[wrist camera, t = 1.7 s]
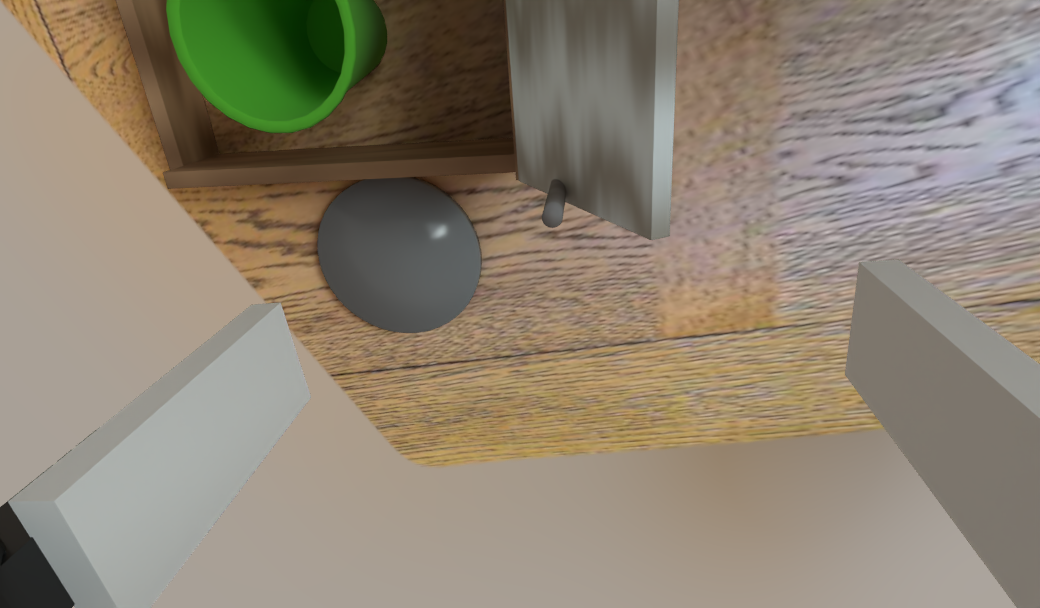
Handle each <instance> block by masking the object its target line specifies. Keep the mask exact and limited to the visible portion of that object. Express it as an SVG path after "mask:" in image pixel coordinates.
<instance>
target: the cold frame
mask: <svg viewBox="0 0 1040 608" xmlns="http://www.w3.org/2000/svg"><path fill="white" fill-rule="evenodd" d="M116 3H117V6H118V9H119V12H120V15H121V18H122V21H123V24H124V28H125V31H126V34H127V37H128V40H129V43H130V46H131V49H132V52H133V56H134V59H135V62H136V65H137V68H138V71H139V74H140V77H141V80H142V84H143V87H144V90H145V93H146V96H147V99H148V102H149V105H150V108H151V112H152V115H153V118H154V121H155V124H156V127H157V130H158V133H159V136H160V140H161V143H162V146H163V149H164V152H165V155H166V158H167V161H168V164H169V168H170V170H169V171H166V172H163V175H164V178H165V181H166V184H167V187H168V189H171V188H192V187H213V186H235V185H256V184H277V183H298V182H319V181H340V180H361V179H382V178H403V177H424V176H446V175H467V174H488V173H509V172H516V180H519V181H520V182H522V183H525V184H527V185H529V186H531V187H534V188H536V189H538V190H540V191H543V192H545V193H547V194H548V195H547V199H546V203H545V207H544V211H543V214H542V221H543V223H544V224H545V225H546V226H548V227H551V228H554V227H557V226H559V225H560V224H561V222H562V218H563V212H564V205H565V202H567V203H569V204H571V205H574V206H576V207H578V208H580V209H583V210H585V211H587V212H589V213H592V214H594V215H596V216H598V217H600V218H603V219H605V220H607V221H609V222H612V223H614V224H616V225H618V226H621V227H623V228H625V229H627V230H629V231H632V232H634V233H636V234H638V235H641V236H643V237H645V238H647V239H649V240H655V239H659V238H663V237H668V236H670V211H671V185H672V160H673V134H674V108H675V82H676V57H677V31H678V5H679V0H503V6H504V19H505V33H506V46H507V60H508V74H509V87H510V101H511V114H512V128H513V138H496V139H478V140H460V141H442V142H424V143H406V144H387V145H369V146H351V147H333V148H315V149H297V150H279V151H261V152H242V153H224V154H219V151H218V148H217V144H216V141H215V137H214V134H213V130H212V127H211V123H210V120H209V116H208V113H207V109H206V106H205V102H204V98H203V95H202V93H201V92H200V91H199V90H198V89H197V88H196V86H195V85H194V84H193V83H192V82H191V80H190V78H189V77H188V75H187V73H186V71H185V70H184V68H183V66H182V64H181V63H180V61H179V59H178V56H177V53H176V51H175V48H174V45H173V42H172V39H171V36H170V32H169V25H168V18H167V11H166V6H167V0H116Z"/></svg>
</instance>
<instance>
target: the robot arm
mask: <svg viewBox="0 0 1040 608" xmlns="http://www.w3.org/2000/svg"><path fill="white" fill-rule="evenodd" d="M845 375H846V377H847V378H848V379H849V381H850V382H851V383H852V385H853V386H854V388H855V389H856V390H857V392H858V393H859V394H860V396H861V397H862V398H863V400H864V401H865V402H866V404H867V405H868V406H869V408H870V409H871V411H872V412H873V413H874V415H875V416H876V417H877V419H878V420H879V421H880V423H881V424H882V425H883V427H884V428H885V430H886V431H887V432H888V433H889V435H890V436H891V438H892V439H893V440H894V442H895V443H896V444H897V446H898V447H899V449H900V450H901V451H902V452H903V454H904V455H905V457H906V458H907V459H908V461H909V462H910V463H911V465H912V466H913V467H914V469H915V470H916V472H917V473H918V474H919V476H920V477H921V478H922V479H923V481H924V482H925V484H926V485H927V486H928V488H929V489H930V491H931V492H932V493H933V494H934V496H935V497H936V499H937V500H938V501H939V503H940V504H941V505H942V507H943V508H944V509H945V511H946V512H947V513H948V515H949V516H950V518H951V519H952V520H953V522H954V523H955V524H956V526H957V527H958V528H959V530H960V531H961V533H962V534H963V535H964V537H965V538H966V539H967V541H968V542H969V543H970V545H971V546H972V547H973V549H974V550H975V551H976V553H977V554H978V556H979V557H980V558H981V560H982V561H983V562H984V564H985V565H986V566H987V568H988V569H989V570H990V572H991V573H992V575H993V576H994V577H995V579H996V580H997V581H998V583H999V584H1000V585H1001V586H1002V588H1003V589H1004V591H1005V592H1006V593H1007V595H1008V596H1009V598H1010V599H1011V600H1012V602H1013V603H1014V604H1015V606H1016V607H1017V608H1040V364H1039V363H1037V362H1036V361H1035V360H1033V359H1032V358H1030V357H1029V356H1028V355H1026V354H1025V353H1024V352H1022V351H1021V350H1020V349H1018V348H1017V347H1016V346H1014V345H1013V344H1012V343H1010V342H1009V341H1008V340H1006V339H1005V338H1004V337H1002V336H1001V335H1000V334H998V333H997V332H996V331H994V330H993V329H992V328H990V327H989V326H987V325H986V324H985V323H983V322H982V321H981V320H979V319H978V318H977V317H975V316H974V315H973V314H971V313H970V312H969V311H967V310H966V309H965V308H963V307H962V306H961V305H959V304H958V303H957V302H955V301H954V300H953V299H951V298H950V297H949V296H947V295H946V294H944V293H943V292H942V291H940V290H939V289H938V288H936V287H935V286H934V285H932V284H931V283H930V282H928V281H927V280H926V279H924V278H923V277H922V276H920V275H919V274H918V273H916V272H915V271H914V270H912V269H911V268H910V267H908V266H907V265H906V264H904V263H903V262H901V261H900V260H885V261H870V262H859V268H858V275H857V283H856V291H855V299H854V307H853V315H852V323H851V331H850V338H849V346H848V354H847V362H846V370H845ZM310 398H311V396H310V393H309V390H308V386H307V384H306V380H305V378H304V374H303V371H302V368H301V365H300V362H299V359H298V355H297V352H296V349H295V346H294V343H293V340H292V337H291V334H290V330H289V327H288V324H287V321H286V318H285V315H284V312H283V309H282V306H281V303H268V304H255V305H251V306H250V307H248V308H247V309H246V310H245V311H243V312H242V313H241V314H240V315H238V316H237V317H236V318H235V319H233V320H232V321H231V322H230V323H229V324H227V325H226V326H225V327H223V328H222V329H221V330H220V331H219V332H217V333H216V334H215V335H214V336H212V337H211V338H210V339H209V340H207V341H206V342H205V343H204V344H203V345H201V346H200V347H199V348H197V349H196V350H195V351H194V352H193V353H191V354H190V355H189V356H188V357H186V358H185V359H184V360H183V361H181V362H180V363H179V364H178V365H176V366H175V367H174V368H173V369H171V370H170V371H169V372H168V373H167V374H165V375H164V376H163V377H162V378H160V379H159V380H158V381H157V382H156V383H154V384H153V385H152V386H151V387H150V388H148V389H147V390H146V391H144V392H143V393H142V394H141V395H139V396H138V397H137V398H136V399H134V400H133V401H132V402H131V403H130V404H128V405H127V406H126V407H124V408H123V409H122V410H121V411H120V412H118V413H117V414H116V415H115V416H113V417H112V418H111V419H110V420H108V421H107V422H106V423H105V424H103V425H102V426H101V427H99V428H98V429H97V430H95V431H94V432H93V433H92V434H90V435H89V436H88V437H87V438H86V439H84V440H83V441H82V442H81V443H79V444H78V445H77V446H76V447H75V448H74V449H73V450H71V451H69V452H68V453H67V454H66V455H64V456H63V457H62V458H61V459H59V460H58V461H57V462H56V463H55V464H54V465H52V466H51V467H50V468H48V469H47V470H46V471H45V472H43V473H42V474H41V475H40V476H38V477H37V478H36V479H35V480H34V481H32V482H31V483H30V484H29V485H27V486H26V487H25V488H24V489H22V490H21V491H20V492H19V493H17V494H16V495H15V496H14V497H13V498H11V499H10V500H9V501H8V502H6V503H5V504H4V505H2V506H1V507H0V608H72V607H73V606H74V607H75V608H151V606H152V605H153V604H154V602H155V601H156V600H157V599H158V597H159V596H160V595H161V593H162V592H163V591H164V589H165V588H166V587H167V585H168V584H169V583H170V582H171V580H172V579H173V578H174V576H175V575H176V574H177V572H178V571H179V570H180V568H181V567H182V566H183V564H184V563H185V562H186V561H187V559H188V558H189V557H190V555H191V554H192V553H193V551H194V550H195V549H196V547H197V546H198V544H200V542H201V541H202V540H203V538H204V537H205V536H206V534H207V533H208V532H209V530H210V529H211V528H212V526H213V525H214V524H215V523H216V521H217V520H218V519H219V517H220V516H221V515H222V513H223V512H224V511H225V509H226V508H227V507H228V506H229V504H230V503H231V502H232V500H233V499H234V498H235V496H236V495H237V494H238V492H239V491H240V489H241V488H242V487H243V486H244V485H245V483H246V482H247V481H248V479H249V478H250V477H251V475H252V474H253V473H254V471H255V470H256V469H257V467H258V466H259V465H260V463H261V462H262V461H263V460H264V458H265V457H266V456H267V454H268V453H269V452H270V450H271V449H272V448H273V447H274V445H275V444H276V443H277V441H278V440H279V439H280V437H281V436H282V435H283V433H284V432H285V431H286V429H287V428H288V427H289V425H290V424H291V423H292V422H293V420H294V419H295V418H296V416H297V415H298V413H299V412H300V411H301V410H302V408H303V407H304V406H305V405H306V403H307V402H308V401H309V399H310Z"/></svg>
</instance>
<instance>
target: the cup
mask: <svg viewBox="0 0 1040 608" xmlns="http://www.w3.org/2000/svg"><path fill="white" fill-rule="evenodd" d="M166 11H167V18H168V25H169V32H170V36H171V39H172V42H173V45H174V48H175V51H176V53H177V56H178V59H179V61H180V63H181V64H182V66H183V68H184V70H185V71H186V73H187V75H188V77H189V78H190V80H191V82H192V83H193V84H194V85H195V86H196V88H197V89H198V90H199V91H200V92H201V93H202V95H203V96H204V97H205V98H206V99H207V100H208V101H209V102H210V103H211V104H212V105H214V106H215V107H216V108H217V109H219V110H220V111H221V112H222V113H224V114H225V115H226V116H228V117H229V118H231V119H233V120H235V121H237V122H239V123H241V124H243V125H245V126H247V127H249V128H252V129H256V130H260V131H264V132H268V133H293V132H297V131H300V130H304V129H307V128H311V127H312V126H314V125H316V124H317V123H319V122H320V121H322V120H323V119H325V118H327V117H328V116H329V115H330V114H331V113H332V112H333V110H334V109H335V108H336V107H337V106H338V105H339V104H340V102H341V101H342V100H343V98H344V96H345V94H346V92H347V91H348V90H349V89H351V88H352V87H353V86H354V85H355V84H357V83H358V82H359V81H360V80H361V79H363V78H364V77H365V76H366V75H367V74H369V73H370V72H371V71H372V70H373V69H374V68H375V67H376V66H377V65H378V64H379V63H380V61H381V59H382V57H383V55H384V53H385V49H386V44H387V29H386V25H385V20H384V18H383V15H382V13H381V11H380V9H379V7H378V6H377V5H376V3H375V2H374V0H167V6H166Z"/></svg>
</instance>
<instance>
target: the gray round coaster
mask: <svg viewBox="0 0 1040 608" xmlns="http://www.w3.org/2000/svg"><path fill="white" fill-rule="evenodd" d="M317 243H318V256H319V262H320V266H321V269H322V272H323V274H324V277H325V279H326V281H327V283H328V285H329V286H330V288H331V290H332V291H333V293H334V294H335V295H336V297H337V298H338V299H339V300H340V301H341V302H342V303H343V305H344V306H345V307H346V308H348V309H349V310H350V311H351V312H352V313H354V314H355V315H356V316H358V317H359V318H361V319H362V320H364V321H366V322H368V323H370V324H372V325H374V326H377V327H379V328H382V329H386V330H389V331H394V332H400V333H417V332H424V331H429V330H432V329H435V328H438V327H440V326H442V325H444V324H446V323H448V322H450V321H451V320H453V319H454V318H455V317H456V316H458V315H459V314H460V313H461V312H462V311H463V310H464V308H465V307H466V306H467V305H468V303H469V301H470V300H471V298H472V296H473V294H474V292H475V290H476V287H477V285H478V282H479V278H480V274H481V266H482V257H481V248H480V243H479V240H478V236H477V233H476V231H475V229H474V227H473V224H472V222H471V221H470V219H469V218H468V216H467V214H466V213H465V212H464V210H463V209H462V208H461V207H460V206H459V204H458V203H457V202H456V201H455V200H453V199H452V198H451V197H450V196H449V195H448V194H446V193H445V192H444V191H442V190H441V189H439V188H438V187H436V186H434V185H432V184H431V183H428V182H426V181H424V180H421V179H418V178H415V177H403V178H382V179H364V180H361V181H359V182H357V183H355V184H354V185H352V186H350V187H349V188H347V189H346V190H344V191H343V192H342V193H341V194H340V195H338V196H337V197H336V198H335V199H334V201H333V202H332V203H331V204H330V206H329V207H328V209H327V210H326V212H325V214H324V216H323V219H322V221H321V224H320V228H319V232H318V241H317Z"/></svg>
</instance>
